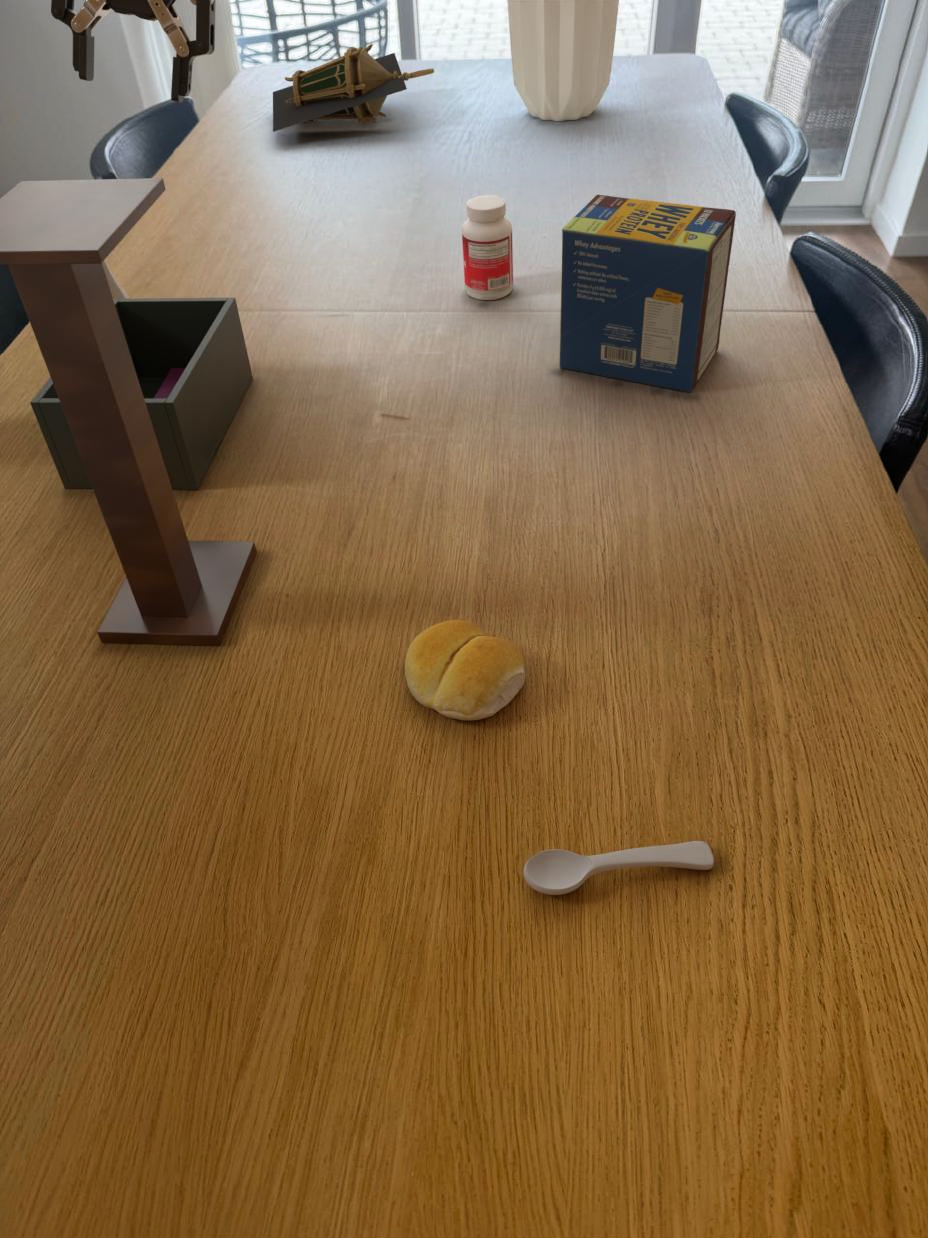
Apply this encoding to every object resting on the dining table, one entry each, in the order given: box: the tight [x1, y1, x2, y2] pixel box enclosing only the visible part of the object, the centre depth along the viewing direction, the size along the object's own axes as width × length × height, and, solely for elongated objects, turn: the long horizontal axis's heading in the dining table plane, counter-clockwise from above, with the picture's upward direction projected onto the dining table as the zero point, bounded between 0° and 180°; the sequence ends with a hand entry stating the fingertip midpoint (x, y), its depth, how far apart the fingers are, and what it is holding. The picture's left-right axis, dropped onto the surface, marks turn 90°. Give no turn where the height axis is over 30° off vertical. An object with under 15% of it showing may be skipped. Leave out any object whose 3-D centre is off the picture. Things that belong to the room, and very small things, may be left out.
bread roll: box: [404, 619, 527, 721], centre depth 72 cm, size 8×9×4 cm
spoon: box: [522, 840, 715, 896], centre depth 60 cm, size 3×12×2 cm, turn 97°
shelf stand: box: [0, 177, 258, 647], centre depth 71 cm, size 10×12×32 cm
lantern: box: [272, 43, 435, 133], centre depth 175 cm, size 14×23×30 cm
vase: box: [507, 0, 620, 122], centre depth 167 cm, size 20×20×27 cm
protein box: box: [558, 194, 737, 393], centre depth 103 cm, size 10×15×16 cm
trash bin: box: [29, 297, 254, 491], centre depth 99 cm, size 14×22×10 cm, turn 175°
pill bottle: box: [461, 194, 514, 301], centre depth 119 cm, size 6×6×11 cm
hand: (132, 90), depth 92 cm, fingers open, 8 cm apart
